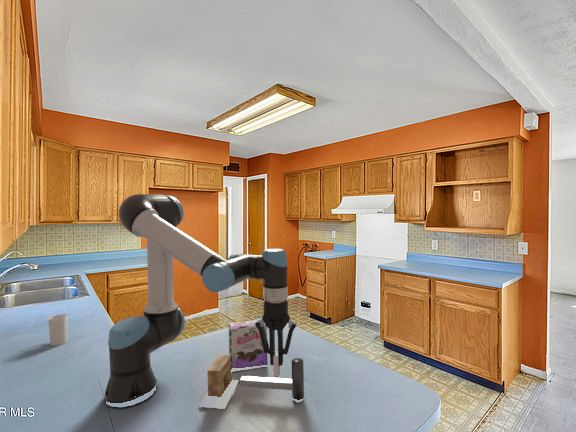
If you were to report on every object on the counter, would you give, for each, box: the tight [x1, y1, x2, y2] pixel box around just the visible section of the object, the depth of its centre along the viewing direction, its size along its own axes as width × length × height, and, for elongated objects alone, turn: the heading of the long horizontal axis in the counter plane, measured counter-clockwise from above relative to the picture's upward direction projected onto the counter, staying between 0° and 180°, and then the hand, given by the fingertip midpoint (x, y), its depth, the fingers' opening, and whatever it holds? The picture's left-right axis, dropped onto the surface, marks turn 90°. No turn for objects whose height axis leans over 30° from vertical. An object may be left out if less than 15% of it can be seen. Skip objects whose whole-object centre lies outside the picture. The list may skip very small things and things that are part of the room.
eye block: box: [206, 354, 233, 397], centre depth 100 cm, size 8×14×10 cm, turn 171°
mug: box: [48, 313, 68, 347], centre depth 142 cm, size 10×7×12 cm, turn 64°
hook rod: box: [239, 357, 305, 400], centre depth 97 cm, size 20×4×12 cm, turn 81°
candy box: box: [228, 319, 268, 369], centre depth 117 cm, size 14×6×16 cm, turn 105°
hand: (276, 374), depth 97 cm, fingers closed
